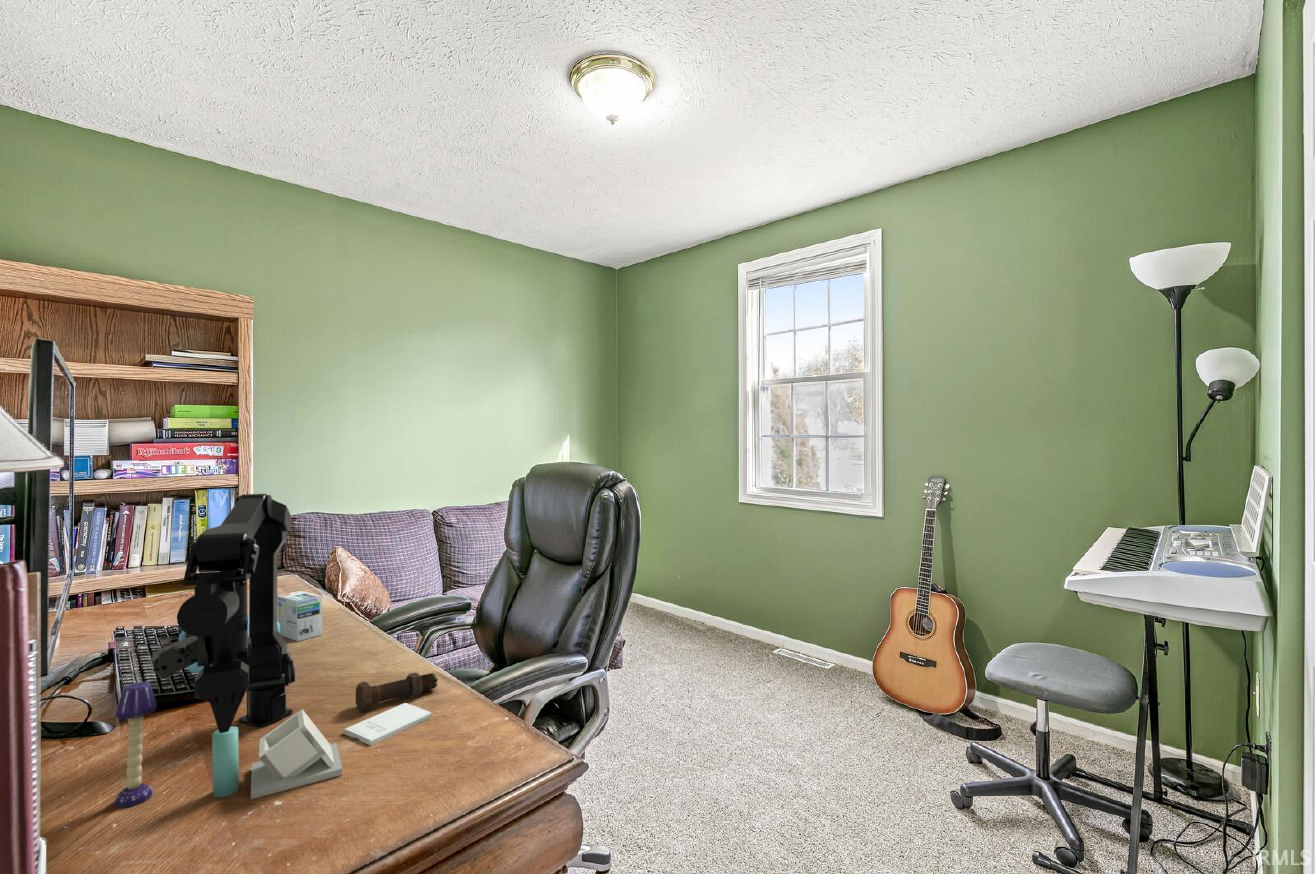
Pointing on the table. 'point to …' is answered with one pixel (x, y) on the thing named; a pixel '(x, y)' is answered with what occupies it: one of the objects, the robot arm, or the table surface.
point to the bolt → (393, 690)
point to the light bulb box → (300, 615)
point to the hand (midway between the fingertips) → (225, 719)
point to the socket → (293, 757)
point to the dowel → (225, 762)
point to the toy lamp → (135, 740)
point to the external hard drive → (387, 723)
